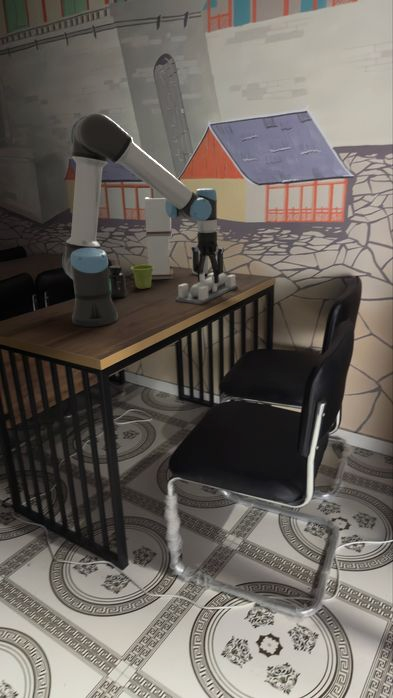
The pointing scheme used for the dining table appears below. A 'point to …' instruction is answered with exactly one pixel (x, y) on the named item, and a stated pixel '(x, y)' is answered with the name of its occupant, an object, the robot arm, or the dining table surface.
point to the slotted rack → (205, 291)
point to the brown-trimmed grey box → (158, 237)
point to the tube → (208, 284)
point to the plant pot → (143, 275)
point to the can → (204, 265)
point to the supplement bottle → (117, 282)
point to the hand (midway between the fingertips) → (208, 290)
